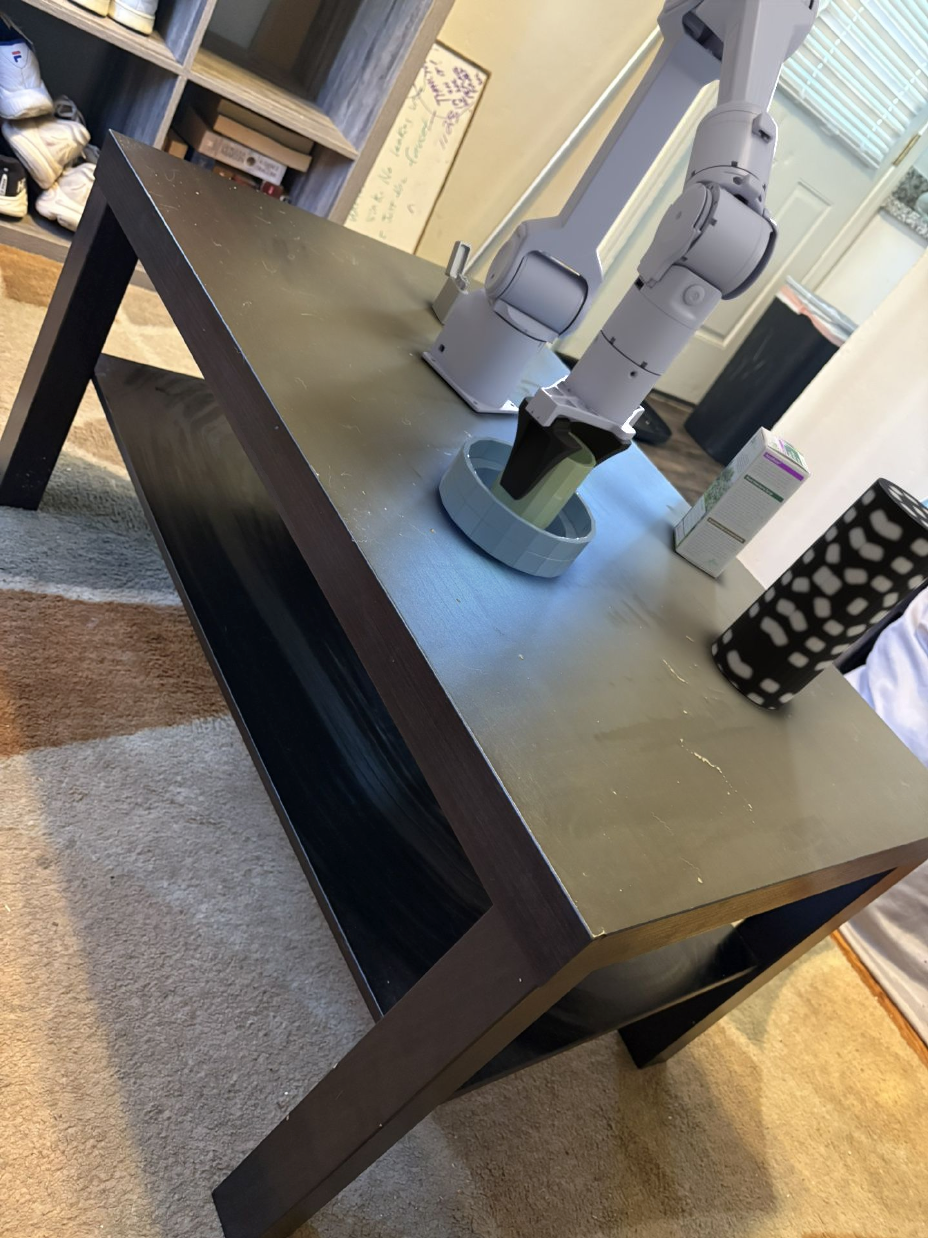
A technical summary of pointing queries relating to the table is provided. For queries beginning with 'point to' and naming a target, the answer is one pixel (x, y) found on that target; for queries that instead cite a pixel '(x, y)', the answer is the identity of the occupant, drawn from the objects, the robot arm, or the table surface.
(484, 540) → the bowl
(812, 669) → the spotted tube
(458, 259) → the lighter
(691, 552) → the syrup box
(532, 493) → the cup
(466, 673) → the table surface
